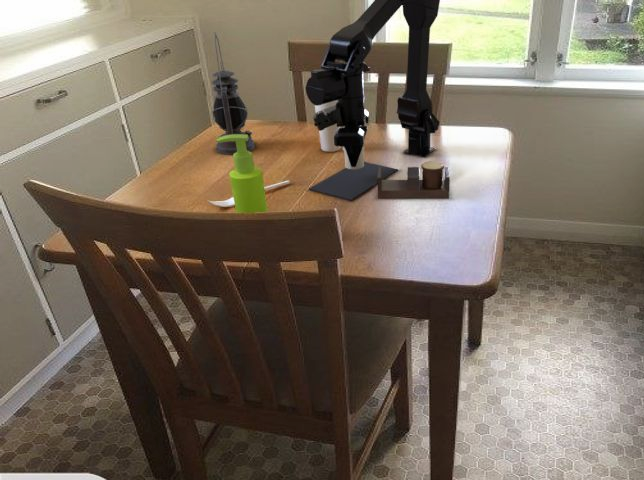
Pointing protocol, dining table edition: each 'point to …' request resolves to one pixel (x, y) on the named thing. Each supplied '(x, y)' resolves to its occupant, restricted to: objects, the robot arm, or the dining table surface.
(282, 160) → the dining table surface
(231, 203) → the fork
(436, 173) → the cylinder
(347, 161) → the coffee pod
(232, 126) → the lantern
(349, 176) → the mat
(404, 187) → the pod rack
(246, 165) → the soap dispenser
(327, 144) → the drinking glass
